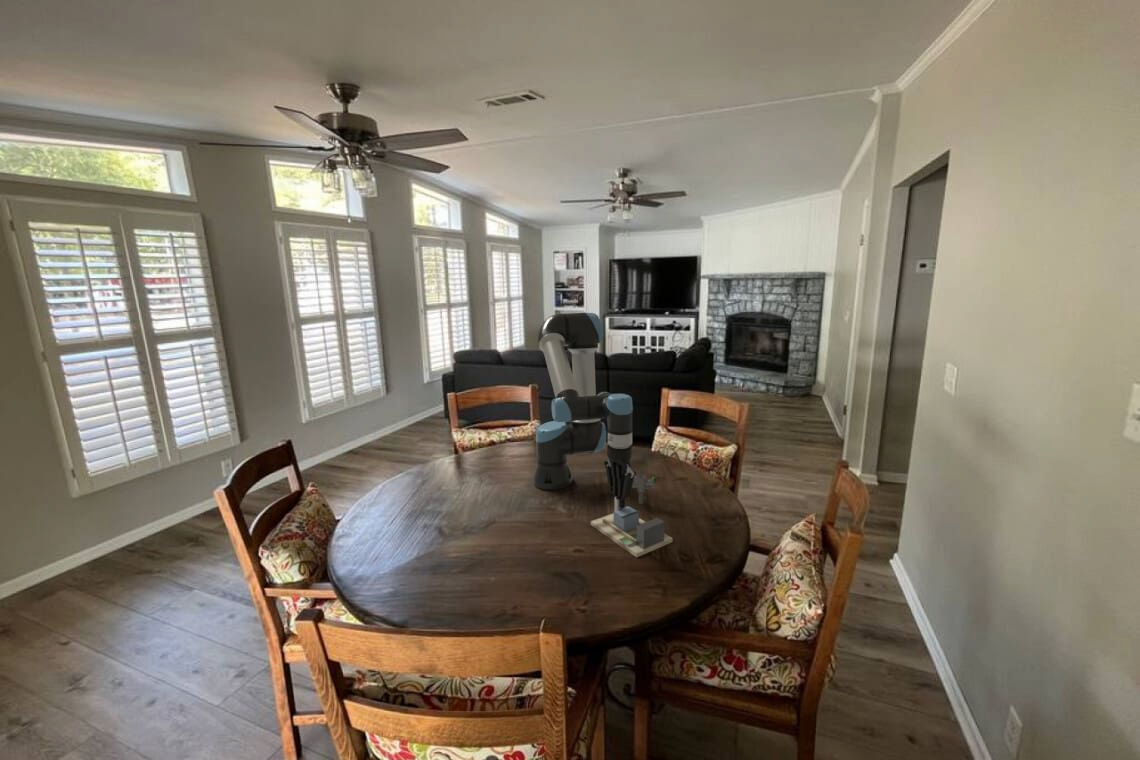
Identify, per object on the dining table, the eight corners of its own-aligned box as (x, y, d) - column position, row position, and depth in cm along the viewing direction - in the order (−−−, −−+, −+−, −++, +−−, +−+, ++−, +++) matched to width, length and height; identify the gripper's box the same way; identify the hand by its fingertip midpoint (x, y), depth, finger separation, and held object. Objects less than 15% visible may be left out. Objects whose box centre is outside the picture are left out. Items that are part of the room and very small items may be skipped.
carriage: (612, 526, 146) (612, 511, 145) (629, 519, 150) (629, 504, 149) (622, 533, 142) (622, 517, 141) (640, 526, 146) (640, 510, 145)
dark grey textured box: (636, 544, 136) (636, 525, 135) (656, 536, 140) (657, 517, 139) (643, 549, 134) (643, 530, 132) (663, 540, 138) (664, 521, 137)
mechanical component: (655, 506, 161) (656, 479, 159) (625, 503, 163) (625, 477, 161) (655, 502, 164) (656, 475, 162) (626, 500, 166) (626, 473, 164)
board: (590, 524, 150) (590, 518, 149) (624, 512, 157) (624, 506, 157) (636, 557, 132) (636, 550, 131) (672, 541, 139) (672, 535, 139)
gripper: (597, 441, 146) (597, 511, 151) (623, 453, 136) (623, 528, 141) (615, 436, 150) (615, 504, 155) (643, 448, 140) (642, 520, 145)
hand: (619, 515), depth 148 cm, fingers closed
